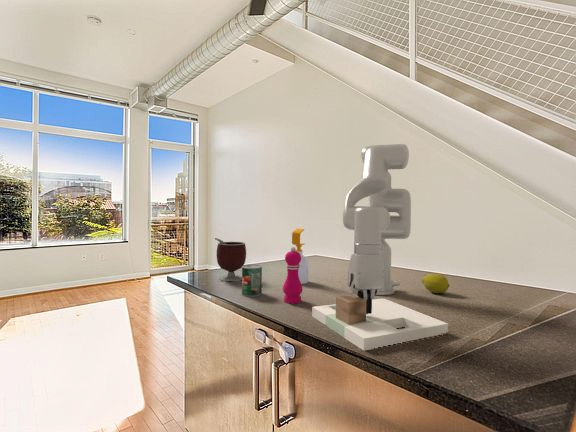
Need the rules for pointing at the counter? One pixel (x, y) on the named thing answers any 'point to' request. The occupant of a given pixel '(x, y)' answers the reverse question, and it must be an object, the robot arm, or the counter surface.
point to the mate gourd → (231, 258)
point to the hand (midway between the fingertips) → (365, 312)
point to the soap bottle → (304, 261)
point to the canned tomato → (251, 280)
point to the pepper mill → (292, 278)
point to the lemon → (436, 283)
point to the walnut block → (351, 309)
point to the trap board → (382, 324)
